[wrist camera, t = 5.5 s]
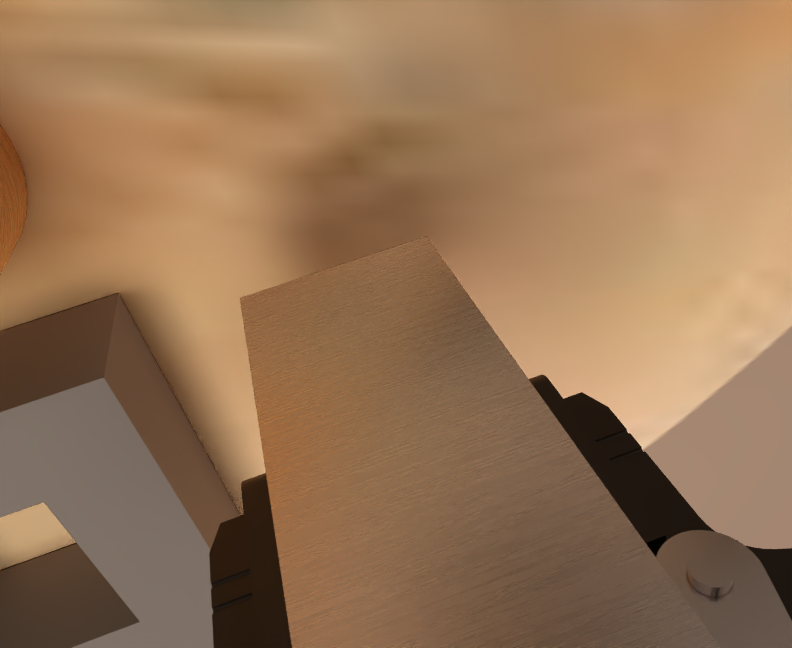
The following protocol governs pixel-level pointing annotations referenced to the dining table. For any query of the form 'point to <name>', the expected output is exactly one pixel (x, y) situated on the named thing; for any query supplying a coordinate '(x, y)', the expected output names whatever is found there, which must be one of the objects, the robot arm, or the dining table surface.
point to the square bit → (434, 478)
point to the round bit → (10, 198)
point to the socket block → (104, 488)
